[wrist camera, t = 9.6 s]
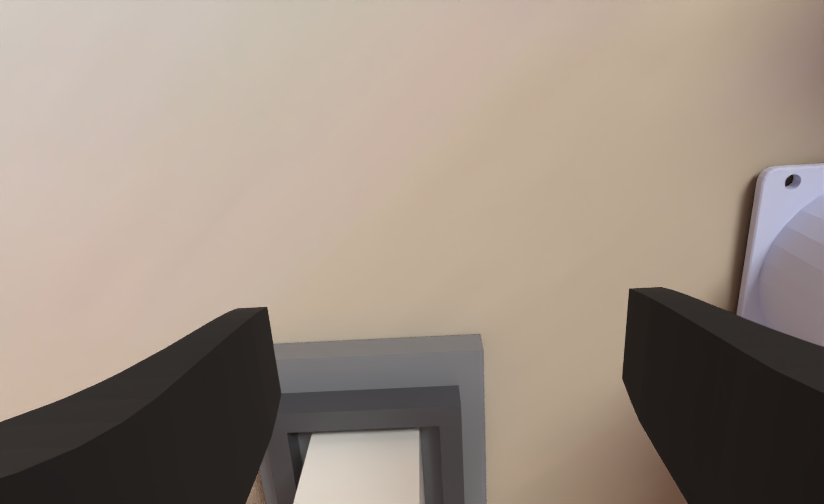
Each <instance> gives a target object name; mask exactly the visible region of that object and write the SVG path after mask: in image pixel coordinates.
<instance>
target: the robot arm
mask: <svg viewBox="0 0 824 504" xmlns="http://www.w3.org/2000/svg"><path fill="white" fill-rule="evenodd" d="M790 175H793V177H794V179H793V182H792V183H791V184H790V185H789V186H786V187H785V181H786V178H788V177H789V176H790ZM622 379H623V382H624V384H625V387H626V390H627V392H628V395H629V397H630V400H631V403H632V405H633V407H634V410H635V412H636V414H637V417H638V419H639V421H640V423H641V425H642V426H643V428H644V430H645V432H646V433H647V435H648V437H649V439H650V440H651V442H652V444H653V445H654V447H655V449H656V451H657V452H658V454H659V456H660V457H661V459H662V461H663V462H664V464H665V466H666V467H667V469H668V471H669V472H670V474H671V476H672V477H673V479H674V481H675V482H676V484H677V486H678V487H679V489H680V491H681V493H682V494H683V496H684V498H685V499H686V501H687V503H688V504H824V163H817V164H799V165H782V166H772V167H768V168H766V169H765V170H763V171H762V172H761V173H760V175H759V176H758V179H757V183H756V189H755V196H754V202H753V209H752V216H751V222H750V229H749V235H748V242H747V248H746V255H745V261H744V268H743V275H742V281H741V288H740V294H739V301H738V307H737V314H733V313H731V312H728V311H726V310H723V309H721V308H718V307H716V306H713V305H711V304H708V303H706V302H703V301H701V300H699V299H696V298H693V297H691V296H688V295H685V294H683V293H680V292H677V291H674V290H671V289H667V288H663V287H653V288H634V289H629V298H628V311H627V324H626V337H625V349H624V362H623V375H622ZM280 398H281V388H280V382H279V376H278V370H277V364H276V358H275V352H274V346H273V340H272V333H271V327H270V321H269V315H268V309H267V307H257V308H237V309H235V310H232V311H230V312H228V313H225V314H224V315H222V316H220V317H218V318H216V319H214V320H213V321H211V322H209V323H207V324H206V325H204V326H202V327H201V328H199V329H197V330H195V331H194V332H192V333H190V334H189V335H187V336H185V337H184V338H182V339H180V340H178V341H177V342H175V343H173V344H172V345H170V346H168V347H167V348H165V349H163V350H161V351H159V352H157V353H156V354H154V355H152V356H150V357H148V358H146V359H145V360H143V361H141V362H139V363H137V364H135V365H133V366H132V367H130V368H128V369H126V370H124V371H122V372H121V373H119V374H117V375H114V376H112V377H110V378H108V379H106V380H104V381H102V382H100V383H98V384H96V385H94V386H91V387H89V388H87V389H84V390H82V391H80V392H78V393H75V394H73V395H71V396H68V397H66V398H64V399H61V400H59V401H56V402H54V403H51V404H49V405H46V406H43V407H40V408H38V409H35V410H32V411H29V412H27V413H24V414H21V415H19V416H16V417H13V418H10V419H8V420H5V421H2V422H0V504H246V501H247V499H248V496H249V494H250V491H251V488H252V486H253V483H254V481H255V478H256V476H257V473H258V471H259V468H260V466H261V463H262V461H263V458H264V455H265V453H266V450H267V448H268V445H269V442H270V440H271V437H272V433H273V429H274V425H275V421H276V417H277V412H278V408H279V403H280Z"/></svg>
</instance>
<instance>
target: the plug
mask: <svg viewBox="0 0 824 504" xmlns="http://www.w3.org/2000/svg"><path fill="white" fill-rule="evenodd" d="M293 504H425V492H424V479H423V465H422V451H421V437H420V427H406V428H383V429H360V430H338V431H315V432H312V436H311V439H310V443H309V447H308V451H307V454H306V458H305V462H304V465H303V469H302V473H301V477H300V480H299V484H298V488H297V491H296V495H295V499H294V503H293Z"/></svg>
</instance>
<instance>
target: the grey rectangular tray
mask: <svg viewBox="0 0 824 504" xmlns="http://www.w3.org/2000/svg"><path fill="white" fill-rule="evenodd" d="M273 346H274V352H275V358H276V364H277V370H278V376H279V382H280V388H281V398H280V403H279V408H278V412H277V417H276V421H275V425H274V429H273V433H272V437H271V440H270V442H269V445H268V448H267V450H266V453H265V455H264V458H263V461H262V463H261V466H260V468H259V470H260V475H261V480H262V486H263V491H264V496H265V502H266V504H293V503H294V499H295V495H296V491H297V488H298V484H299V480H300V477H301V473H302V469H303V465H304V462H305V458H306V454H307V451H308V447H309V443H310V439H311V436H312V432H315V431H338V430H360V429H383V428H406V427H420V437H421V451H422V465H423V479H424V492H425V504H486V455H485V402H484V350H483V345H482V340H481V336H480V334H472V335H451V336H430V337H410V338H389V339H368V340H348V341H327V342H307V343H286V344H273Z"/></svg>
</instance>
